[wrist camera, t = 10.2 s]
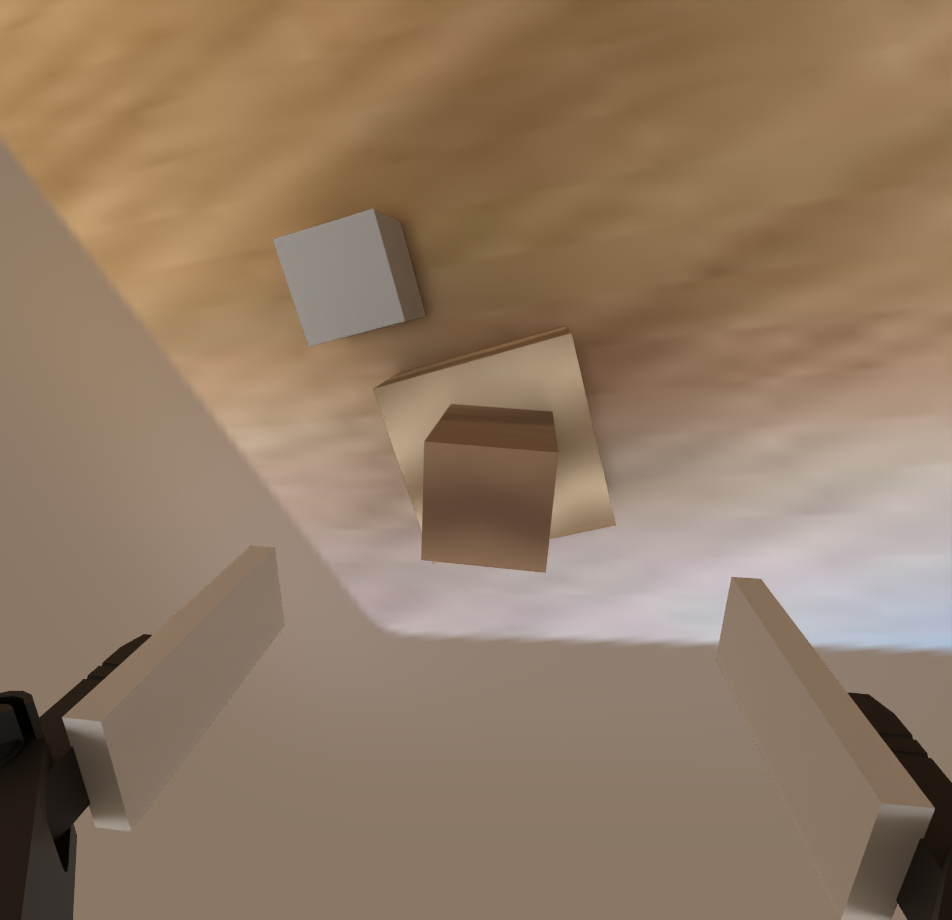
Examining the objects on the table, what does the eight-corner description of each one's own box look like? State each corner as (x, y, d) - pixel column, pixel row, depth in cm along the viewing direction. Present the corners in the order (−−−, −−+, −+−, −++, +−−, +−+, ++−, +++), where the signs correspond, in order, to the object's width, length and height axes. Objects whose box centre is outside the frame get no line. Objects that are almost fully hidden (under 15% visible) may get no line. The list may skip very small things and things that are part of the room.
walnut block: (450, 403, 31) (424, 441, 23) (552, 411, 31) (558, 452, 23) (447, 497, 33) (421, 560, 25) (542, 506, 32) (545, 572, 25)
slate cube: (315, 247, 35) (272, 239, 29) (400, 222, 34) (373, 208, 28) (344, 337, 36) (308, 346, 31) (425, 316, 35) (405, 320, 30)
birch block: (397, 373, 37) (373, 388, 31) (565, 326, 35) (571, 333, 29) (447, 524, 40) (433, 563, 34) (603, 490, 38) (615, 525, 32)
